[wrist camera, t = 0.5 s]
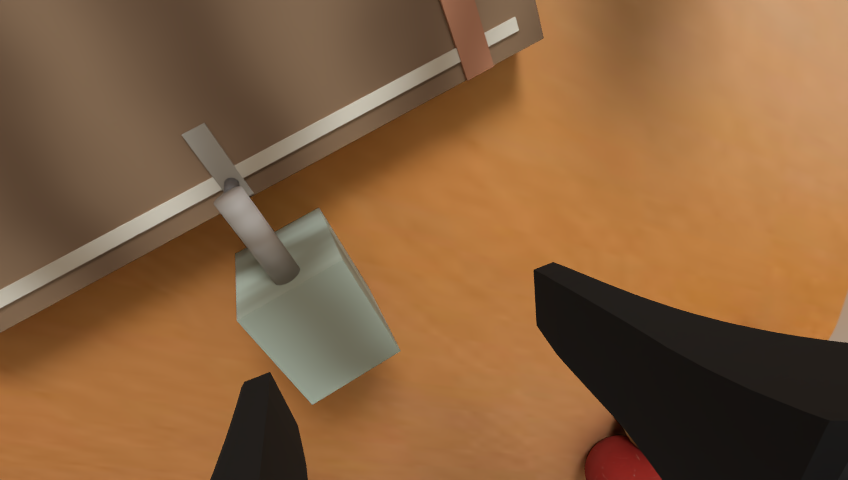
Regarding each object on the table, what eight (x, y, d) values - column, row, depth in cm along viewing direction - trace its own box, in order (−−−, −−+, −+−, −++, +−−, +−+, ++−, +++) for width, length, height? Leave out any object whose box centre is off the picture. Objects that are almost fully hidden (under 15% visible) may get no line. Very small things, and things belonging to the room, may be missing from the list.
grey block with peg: (296, 329, 22) (312, 404, 18) (179, 184, 17) (164, 240, 13) (368, 287, 22) (400, 351, 18) (274, 134, 18) (287, 172, 14)
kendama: (715, 296, 36) (560, 460, 34) (805, 345, 32) (634, 538, 29) (711, 340, 42) (577, 485, 39) (788, 387, 37) (642, 554, 35)
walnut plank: (-27, 327, 17) (-57, 364, 15) (-291, 136, 12) (-379, 157, 11) (516, 35, 19) (545, 38, 18) (455, -204, 15) (485, -232, 13)
